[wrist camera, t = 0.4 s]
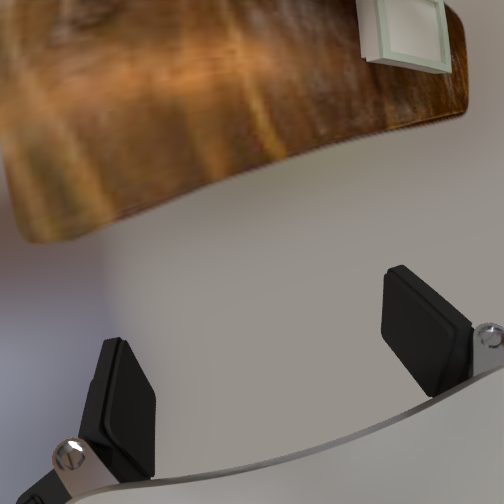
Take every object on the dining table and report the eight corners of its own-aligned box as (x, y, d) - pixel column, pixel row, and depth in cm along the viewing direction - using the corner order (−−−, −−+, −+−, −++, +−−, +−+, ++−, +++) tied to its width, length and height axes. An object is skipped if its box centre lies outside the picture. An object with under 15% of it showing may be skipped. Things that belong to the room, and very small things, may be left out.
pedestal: (347, -9, 30) (373, -25, 24) (413, 7, 32) (442, -2, 26) (355, 64, 35) (383, 58, 28) (420, 74, 36) (451, 72, 30)
